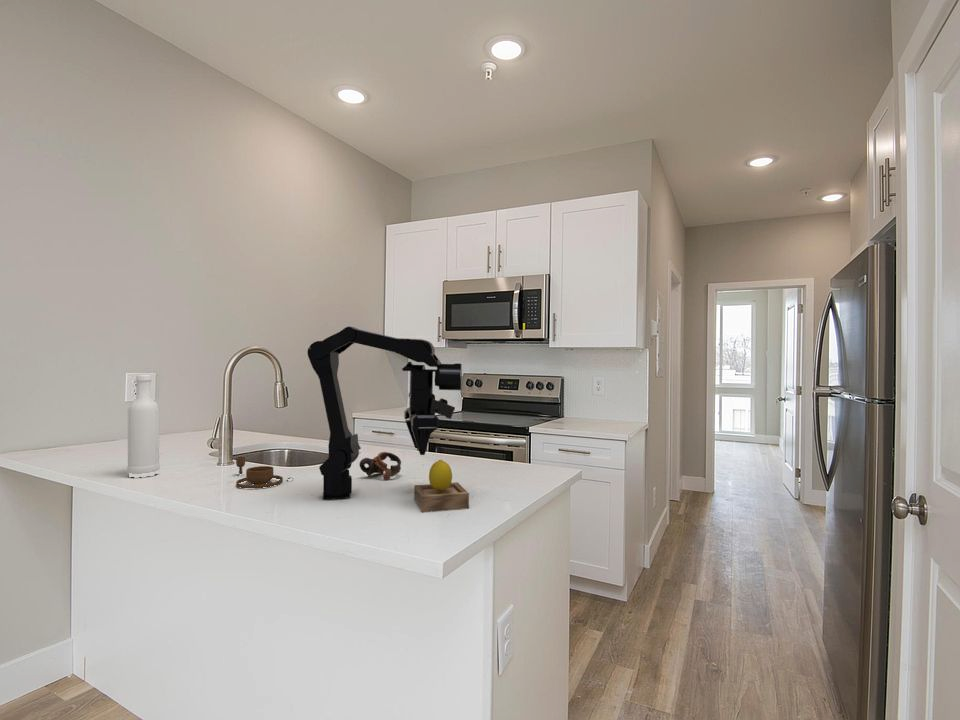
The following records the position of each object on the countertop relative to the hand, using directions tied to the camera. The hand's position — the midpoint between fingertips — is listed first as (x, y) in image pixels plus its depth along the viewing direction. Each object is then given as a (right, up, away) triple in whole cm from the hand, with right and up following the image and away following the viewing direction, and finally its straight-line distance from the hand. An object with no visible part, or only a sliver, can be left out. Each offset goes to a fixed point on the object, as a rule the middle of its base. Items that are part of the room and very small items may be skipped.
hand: (419, 451), depth 126 cm
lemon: (+6, -9, -6) cm, 12 cm away
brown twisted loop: (-14, -12, +22) cm, 28 cm away
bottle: (-85, -12, +24) cm, 89 cm away
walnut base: (+6, -12, -6) cm, 14 cm away
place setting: (-47, -12, +17) cm, 52 cm away
